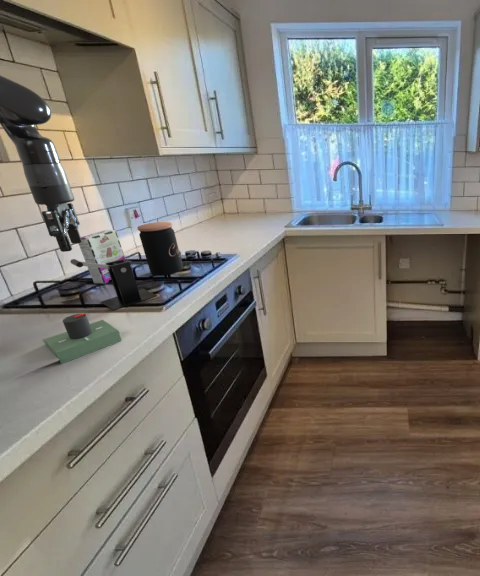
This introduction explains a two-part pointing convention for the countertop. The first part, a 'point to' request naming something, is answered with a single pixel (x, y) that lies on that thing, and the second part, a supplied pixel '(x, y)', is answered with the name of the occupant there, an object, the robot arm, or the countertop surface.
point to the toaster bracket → (125, 286)
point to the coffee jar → (160, 248)
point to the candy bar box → (101, 253)
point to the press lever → (90, 264)
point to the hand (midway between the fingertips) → (72, 247)
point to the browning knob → (77, 326)
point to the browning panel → (83, 342)
